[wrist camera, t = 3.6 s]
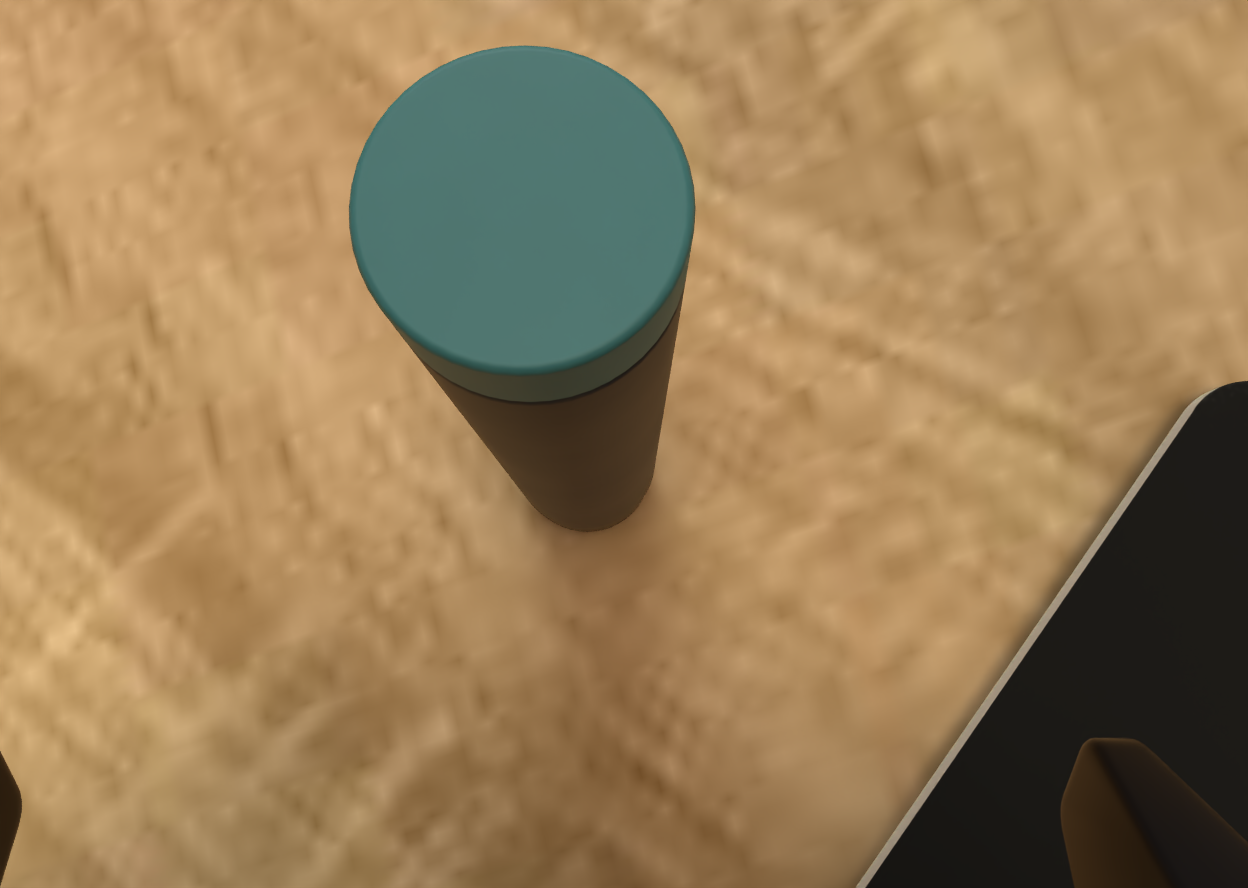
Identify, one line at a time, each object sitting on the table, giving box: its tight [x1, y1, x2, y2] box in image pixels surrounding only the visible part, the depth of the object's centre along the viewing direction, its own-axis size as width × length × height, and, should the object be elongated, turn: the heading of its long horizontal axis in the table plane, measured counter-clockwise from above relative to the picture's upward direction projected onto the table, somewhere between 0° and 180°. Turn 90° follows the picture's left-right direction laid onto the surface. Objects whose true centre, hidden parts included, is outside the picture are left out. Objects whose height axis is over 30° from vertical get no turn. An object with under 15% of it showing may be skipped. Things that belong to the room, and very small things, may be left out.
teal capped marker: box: [349, 46, 695, 532], centre depth 14 cm, size 2×2×13 cm
